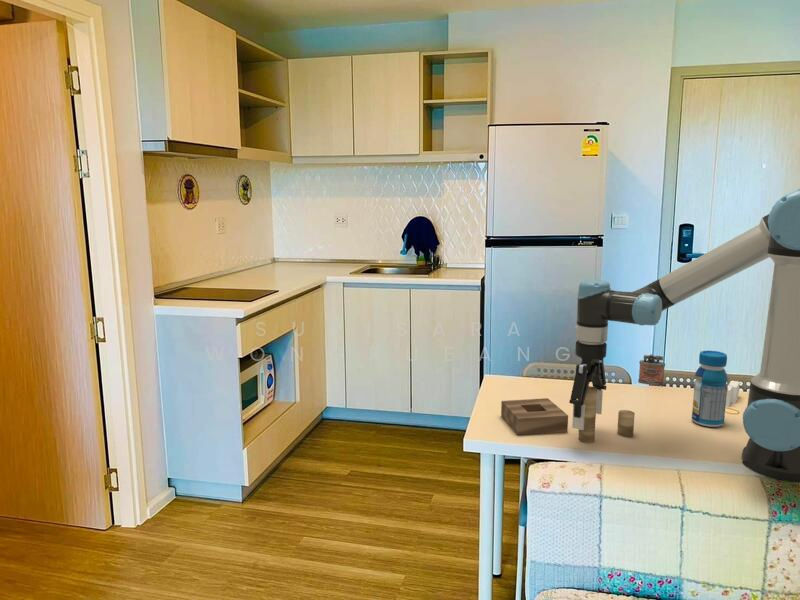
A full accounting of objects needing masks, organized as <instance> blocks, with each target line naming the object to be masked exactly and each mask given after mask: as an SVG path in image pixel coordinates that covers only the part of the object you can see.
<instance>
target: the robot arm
mask: <svg viewBox="0 0 800 600" xmlns="http://www.w3.org/2000/svg"><path fill="white" fill-rule="evenodd" d="M769 258H770V259H771V260H772V261H773V263H774V266H773V274H772V281H771V287H770V295H769V296H770V297H769V304H768V311H767V320H766V327H765V334H764V340H763V349H762V355H761V364H760V372H759V373H758V374H756V375H755V376H753V377H752V378H751V379H750V385H749V391H748V397H747V405H746V408H745V409H744V411H743V413H742V423H743V424H742V425H743V429H744V431H745V433H746V435H747V436H748V437H749V438H748V440H747V443H746V445H745V447H744V448H743V449H742V452H741V462H742V463H741V464H742V465H743V466H745V467H746V468H747V469H748V470H750V471H753V472H754V473H756V474H758V475H761V476H763V477H764V476H765V477H767V478H770V479H775V480H779V479H780V480H781V481H784V480H789V481H788V482H793V481H795V482H796V483H797V482H799V483H800V188H798V189H794V190H791V191H789V192H787V193H786V194H784V195H783V196H781V197H780V198H779V199H778V200H776V202H775V204H773V206H772V208H771V210H770V211H769V213H768V214H766V215H764V216H763V217H761V219H760V221H759V224H757V225H755V226H754V227H752V228H750V229H749V230H746V231H744V232H743V233H741V234H739V235H737V236H735V237H734V238H731V239H729V240H728V241H726V242H724V243H722V244H721V245H719V246H717V247H715V248H714V249H711V250H710V251H708V252H706V253H704V254H702V255H700V256H698V257H697V258H695V259H693V260H691V261H689V262H687V263H685V264H684V265H682V266H680V267H678V268H677V269H674V270H673V271H671V272H669V273H668V274H665V275H663V276H662V277H660V278H658V279H656V280H654V281H652V282H650V283H649V284H647V285H645V286H643V287H641V288H637V289H636V290H634V291H620V290H619V291H618V290H614V289H613V290H612V289H611V284H610V282H609V281H606V280H598V279H591V280H589V279H587V280H582V281H581V282H580V283H579V285H578V292H577V298H576V299H577V305H576V306H577V308H576V309H577V312H576V313H577V315H576V326H574V330H576V340H577V341H575V356H576V357H578V358H580V359H581V363H580V364H576V366H575V375H574V380H573V385H572V389H571V394H570V399H569V404H571V405H572V423H571V424H572V426H571V427H572V429H576V430H578V431H579V430H584V415H585V405H584V400H585V397H586V393H587V390H588V386H590V383H591V384H592V387H595V388H597V401H596V415H597V414H598V415H602V411H603V409H602V408H603V396H604V395H603V393H604V392H603V390H604V391H606V390H607V385H606V384H607V381H606V373H605V365H604V359H605V358H606V357H607V350H608V349H607V347H608V344H607V343H606V342H607V341H608V331H609V330H608V329H609V328H608V327H609V321H610V322H617V323H626V324H633V325H639V326H655V325H657V324H658V323H659V321H660V320H661V317H662V313H663V311H665V310H667V309H669V308H671V307H673V306H674V305H677V304H678V303H681V302H682V301H685V300H686V299H689V298H691V297H694V295H696V294H698V293H700V292H703V291H704V290H707V289H709V288H710V287H712V286H715V285H717V284H718V283H720V282H723V281H724V280H727V279H729V278H731V277H733V276H734V275H737V274H739V273H741V272H742V271H745V270H746V269H748V268H751V267H752V266H755V265H757V264H758V263H760V262H762V261H765V260H767V259H769ZM795 482H794V483H795Z"/></svg>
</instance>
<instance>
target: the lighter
mask: <svg viewBox="0 0 800 600" xmlns="http://www.w3.org/2000/svg"><path fill="white" fill-rule="evenodd" d="M662 361H664V356H662V355H654V354H653V353H651V354H644V355H643V360H642V359H641V360H639V361H638V362H639V373H638V374H639V375H638V381H637V382H638V383H639V384H643V385H649V386H657V387H658V386H659V387H662V386H663V387H664V385H665V382H664V379H665V367H666V363H665V362H662Z"/></svg>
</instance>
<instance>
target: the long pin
mask: <svg viewBox="0 0 800 600" xmlns="http://www.w3.org/2000/svg"><path fill="white" fill-rule="evenodd" d="M596 401H597V388H595V387H593V386H591V385H589V386H588V390H587V393H586V397H585V400H584V405H585V415H584V430H579V429H578V441H580V442H582V443H585V444H590V443H591V444H592V443H594V442H595V437H596V418H597V416H596V415H597V413H596Z"/></svg>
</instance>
